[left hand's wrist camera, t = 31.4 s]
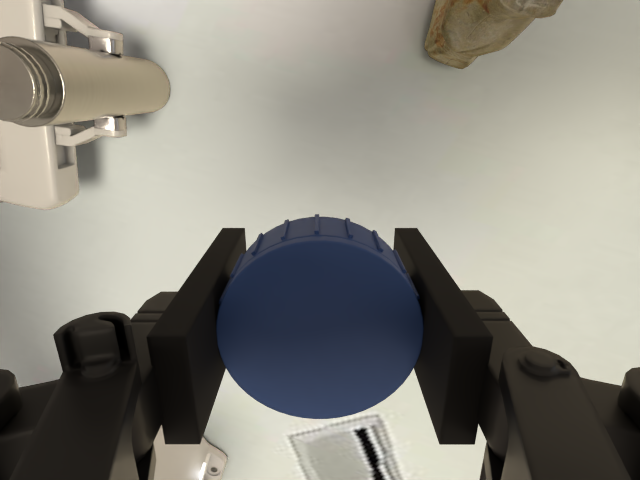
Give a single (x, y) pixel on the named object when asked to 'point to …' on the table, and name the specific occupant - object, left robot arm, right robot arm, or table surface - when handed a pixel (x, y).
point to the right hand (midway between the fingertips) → (121, 86)
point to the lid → (319, 319)
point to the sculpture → (479, 27)
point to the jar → (74, 83)
